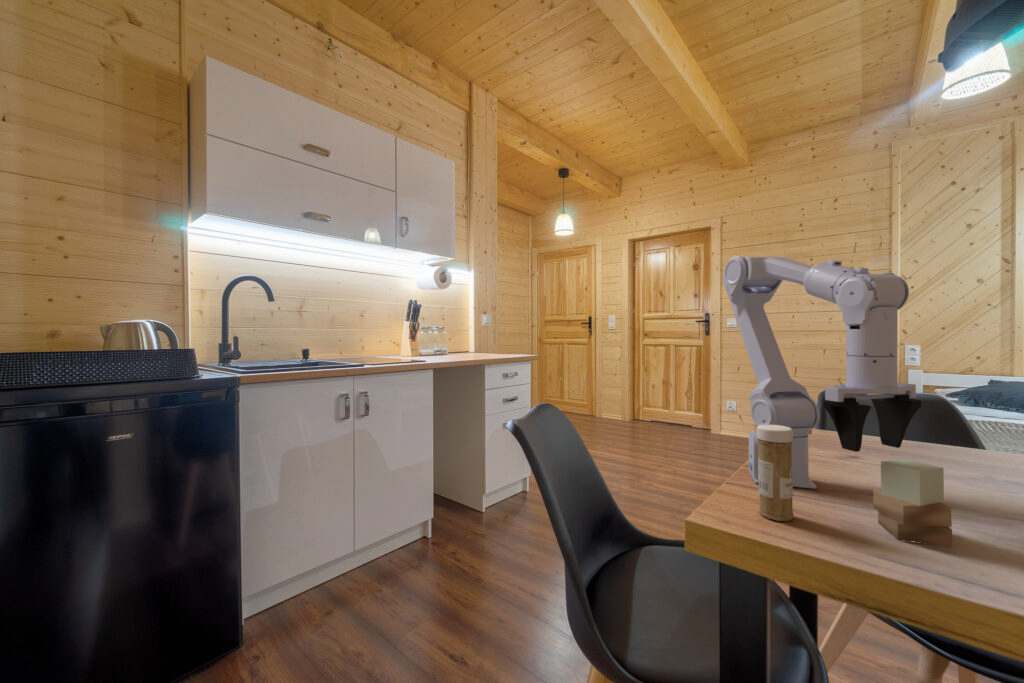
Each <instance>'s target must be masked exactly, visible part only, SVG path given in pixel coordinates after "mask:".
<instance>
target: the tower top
mask: <svg viewBox="0 0 1024 683" xmlns="http://www.w3.org/2000/svg"><path fill="white" fill-rule="evenodd" d="M872 491H873V493H872V495H873V496H872V497H873V499H872V502H873V503H872V504H873V505H872V506H873V509H874V510H876V511H877V512H878V511H879V512H881V513H883V514H884V515H886V516H888V517H890V518H891V519H893V520H895V521H897V522H899V523H900V524H902V525H908V526H934V527H949V528H952V526H953V525H952V524H953V523H952V519H953V518H952V506H951V505H948V504H946V503H944V502H940V503H935V504H929V505H923V506H918V505H915V504H912V503H909V502H905V501H902V500H899V499H896V498H893V497H889V496H886V495H883V494H881V489H879V490H878V489H874V490H872Z"/></svg>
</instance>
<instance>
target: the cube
mask: <svg viewBox="0 0 1024 683" xmlns="http://www.w3.org/2000/svg"><path fill="white" fill-rule="evenodd" d="M944 480H945V479H944V467H940V466H937V465H932V464H929V463H928V464H927V463H923V462H919V461H915V460H911V459H906V458H899V459H891V460H884V461H880V490H881V494H883V495H886V496H889V497H893V498H896V499H899V500H902V501H905V502H909V503H912V504H915V505H918V506H923V505H929V504H935V503H940V502H941V503H944V502H945V500H944V497H945V496H944V495H945V492H944V489H945V488H944V487H945V486H944V484H945V483H944Z"/></svg>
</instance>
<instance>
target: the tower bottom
mask: <svg viewBox="0 0 1024 683" xmlns="http://www.w3.org/2000/svg"><path fill="white" fill-rule="evenodd" d="M877 523H878V524H879V526H881V527H882V528H883V529H884V530H886V532H888V533H889V534H890V535H891V536H892V535H893V536H894V537H895V539H896V541H898V540H905V541H904V542H906V541H915V542H921V543H920V544H923V543H926V544H925V545H931V544H933V545H934V546H939V545H940V546H941V547H949V548H953V528H952V527H934V526H908V525H902V524H900V523H899V522H897V521H895V520H893V519H891V518H890V517H888V516H886V515H884V514H883V513H881V512H879V511H877ZM893 536H892V537H893ZM894 537H893V538H894ZM940 546H939V547H940Z"/></svg>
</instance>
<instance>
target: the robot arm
mask: <svg viewBox="0 0 1024 683" xmlns="http://www.w3.org/2000/svg"><path fill="white" fill-rule="evenodd" d="M842 264H843V261H841V260H836V259H829V260H827V261H824V262H823V261H822V262H820V263H817V264H815V265H809V264H806V263H804V262H800V261H797V260H795V259H790V258H788V257H785V256H784V257H783V256H782V257H781V256H780V257H779V256H774V255H773V256H741V255H734V256H732V257H730V259H729V260H728V261H727V263H726V265H725V268H724V271H723V275H722V278H721V279H722V282H723V284H724V287H725V291H726V293H727V296H728V299H729V301H730V302H731V308H732V311H733V314H734V318H735V320H736V323H737V326H738V329H739V332H740V335H741V338H742V341H743V343H744V345H745V346H744V347H745V349H746V353H747V355H748V358H749V361H750V364H751V367H752V370H753V372H754V376H755V378H756V381H757V384H758V385H757V386H756V387H755V388H754V389H753V390H752V391H751V393H750V394H749V396H748V397H749V398H748V399H749V401H750V406H751V408H750V409H751V410H750V415H751V419H752V421H753V423H754V425H755V426H756V428H757V427H758V426H759V425H781V426H786V427H789V428H791V429H792V430H793V441H792V445H791V447H792V448H791V453H792V484H793V488H802V489H805V488H806V489H814V490H815V489H817V488H818V487H817V485H816V484H815V483H814V481H812V479H810V477H809V475H810V474H809V435H812V434H813V429H814V428H815V427H817V426H818V424H819V422H820V419H821V418H820V417H821V416H820V415H821V414H820V409H819V406H818V405H817V403H816V401H815V400H813V398H812V397H811V396H810V394H809V392H808V391H807V387H805V386H804V385H802V384H800V383H799V382H797V381H796V380H794V379H792V377H791V376H790V373H789V370H788V368H787V366H786V363H785V361H784V358H783V355H782V352H781V351H780V348H779V345H778V344H779V343H778V342H777V340H776V337H775V334H774V332H773V330H772V327H771V323H770V321H769V319H768V316H767V313H766V311H765V309H764V307H765V306H764V305H765V304H767V303H768V302H770V301H771V300H772V298H773V297H774V295H775V293H776V292H777V290H778V289H779V288H780V286H781V284H782V282H783V281H787V282H790V283H795V284H798V285H802V286H803V287H804V290H805V292H806V294H808V295H810V296H812V297H816V298H818V299H822V300H824V301H828V302H831V303H833V304H836V305H837V307H838V308H839V310H840V311H841V313H842V322H843V323H844V325H845V328H846V332H845V333H846V334H845V336H846V337H845V340H846V341H845V343H846V346H845V350H846V351H845V352H846V353H845V354H846V356H845V358H846V360H845V364H846V365H845V366H846V369H845V370H846V372H845V375H846V376H845V377H846V379H845V380H846V381H845V383H844V384H838V385H832V386H825V387H824V388H825V390H824V391H825V393H824V394H825V395H824V396H825V397H824V398H823V399H822V406H823V407H824V409H825V410H826V411H827V413H828V415H829V416H830V418H831V420H832V422H833V424H834V426H835V429H836V432H837V436H838V439H839V442H840V445H841V449H844V450H847V451H852V452H855V453H857V452H860V451H861V448H862V443H863V431H864V427H865V423H866V422H865V421H866V419H867V416H868V414H869V412H870V411H871V409H872V406H871V405H868V404H867V405H866V404H861V403H860V402H859V401H857V400H871V402H872V404H873V407H874V409H875V410H874V411H875V412H876V417H877V420H878V429H879V430H878V431H879V437H880V438H879V439H880V442H881V445H882V446H888V447H892V448H896V449H897V448H898V449H899V448H901V446H902V443H903V440H904V438H905V434H906V432H907V429H908V426H909V424H910V422H911V420H912V419H913V418H914V415H915V414H916V413H917V412H918V410H919V409H920V408H921V407H922V400H920V399H915V398H916V397H917V385H916V384H915V383H907V382H906V383H903V382H898V310H900V309H902V308H903V307H904V306H905V304H907V301H908V299H909V295H910V290H909V289H910V288H909V285H908V283H907V281H906V280H905V279H904V278H903V277H901V276H900V275H896V274H895V273H893V272H884V273H871V272H870V271H869V268H867V267H864V266H863V267H862V266H857V267H856V268H852V267H848V266H844V265H842ZM758 458H759V442H758V438H757V430H756V431H755V430H751V431H749V434H748V472H749V474H750V476H751V478H752V479H753V482H754V483H755V484H759V478H758Z"/></svg>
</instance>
